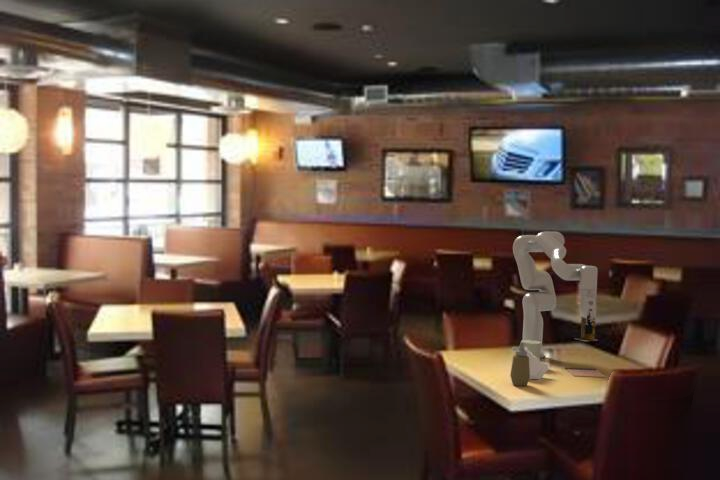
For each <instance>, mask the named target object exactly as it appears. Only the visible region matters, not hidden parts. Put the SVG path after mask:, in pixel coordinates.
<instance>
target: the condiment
mask: <svg viewBox="0 0 720 480" xmlns="http://www.w3.org/2000/svg"><path fill="white" fill-rule="evenodd" d="M587 318H590V317H587ZM585 325H586V319H585V318H582V322H580V326H581V331H580V337H577V338H573V339H575V340H578V341H583V342H594V341H595V342H596V341H597V339H596V337H595V336H596V318H595V319H593V328H592V334H585Z"/></svg>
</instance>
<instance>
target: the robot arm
mask: <svg viewBox="0 0 720 480" xmlns="http://www.w3.org/2000/svg"><path fill="white" fill-rule="evenodd" d="M565 240H566V239H565V237H564V235H563V234H562V233H561V232H559V231H541V232H538V233H537V234H536V235H535V234H525V235H524V234H523V235H519V236H518V237H516V238H515V240H514V242H513V244H512V253H513V257H514V260H515V262H516V265H517V269H518V274H519V278H520V283H521V286H522V288H523V289H524V290H527V291H532V292H527V293H526V294H525V295H524V296H523V298H522V310H523V312H522V313H523V320H522V321H523V323H522V324H523V325H522V326H523V327H522V340H535V341H539V342H541V348H540V359H543V358H544V354H545V353H543V350H542V349H543V333H544V318H543V316H542V313H541V312H546V311H547V312H549V311H553V310H554V309H556V307H557V296H556V291H555V287H554V282H553V279H552V276H551V275H550V273H549V272H547V271H545V270H537V267H536V262H535V260H534V258H533V257H532V256H531V255H530V253H544V254H545V255H546V256H547V257H548V258H549V259H550V266H551V269H552V271H553V272H554V273H555V274H556V275H557V276H558V277H559V278H560V279H561V280H563V281H579V290H578V291H579V293H578V296H579V297H580V299H579V300H580V301H579V316H580V323H582V318H585V319H586V325H585V334H592V328H593V319H595V320H596V318H597V301H596V297H597V291H598V290H597V289H598V288H597V287H598V270H599V269H598V267H597V266H595V265H586V264H583V263H566V261H564V260H563V259H564V258H565V256H566V255H567V249H566V247H565V246H564V245H565ZM587 317H590V318H587ZM579 328H580V332H581V325H580V327H579ZM511 347H512V348H511V350H512V351H515V352H516V350H518V349H519V346H511Z"/></svg>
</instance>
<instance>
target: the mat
mask: <svg viewBox="0 0 720 480" xmlns="http://www.w3.org/2000/svg"><path fill="white" fill-rule="evenodd" d="M566 371H567V372H569V373H570V374H571V375H572V377H583V378H584V377H586V378H604V377H606V376H605V375H604V374H603V373H602V372H600V371H599V370H597V369H596V370H574V369H566Z"/></svg>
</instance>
